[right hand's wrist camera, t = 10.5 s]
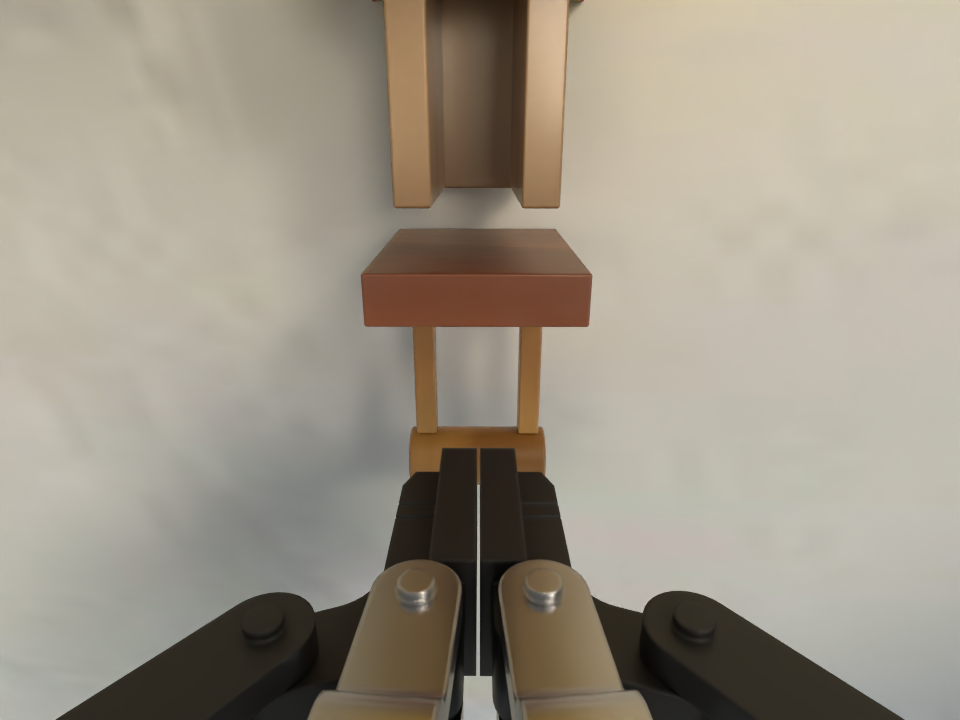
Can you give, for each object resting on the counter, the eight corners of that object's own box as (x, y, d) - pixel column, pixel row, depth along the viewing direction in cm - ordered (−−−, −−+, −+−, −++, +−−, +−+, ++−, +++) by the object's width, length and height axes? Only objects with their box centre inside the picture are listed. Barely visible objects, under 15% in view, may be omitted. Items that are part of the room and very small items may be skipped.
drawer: (547, 433, 22) (573, 553, 15) (408, 433, 22) (379, 553, 15) (587, -466, 14) (677, -974, 7) (368, -466, 14) (272, -974, 7)
